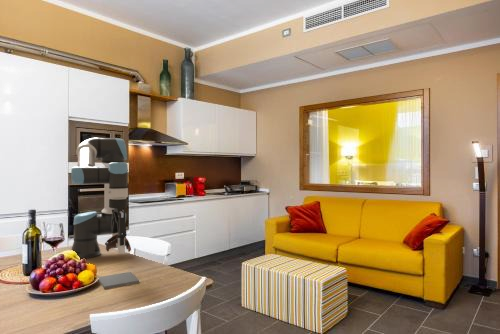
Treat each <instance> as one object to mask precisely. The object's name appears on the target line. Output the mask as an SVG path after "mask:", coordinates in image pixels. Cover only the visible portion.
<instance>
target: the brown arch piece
mask: <svg viewBox="0 0 500 334" xmlns="http://www.w3.org/2000/svg"><path fill="white" fill-rule="evenodd" d="M117 236H118V234H117V235H115V236H113V237H112V236H111V237H110V238H109V239H107V240H106V242H105V243H104V245H105V251H107V252H109V251H110V250H111V249H112V248H113V249H117V248H116V243H118V238H117ZM113 240H114V241H113ZM125 250H127V251H128V252H131V251H132V248H131V244H130V242H129V239H128V238H127V236H126V237H125Z"/></svg>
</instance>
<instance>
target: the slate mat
mask: <svg viewBox="0 0 500 334" xmlns="http://www.w3.org/2000/svg"><path fill="white" fill-rule="evenodd" d="M98 278H99V281H98V282H99V284H100V285H101V286H102V288H103V289H104V290H107V289H113V288H118V287H123V286H128V285H134V284H139V283H140V282H141V281H140V279H139V278H138V277H137V276H136V275H135V274H134V273H133V272H132V271H127V272H121V273H115V274H107V275H103V276H97V279H98Z"/></svg>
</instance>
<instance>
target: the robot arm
mask: <svg viewBox="0 0 500 334" xmlns="http://www.w3.org/2000/svg"><path fill="white" fill-rule="evenodd" d="M76 147H77V148H76V150H75V153H76V154H75V155H76V157H77V166H73V167H71V172H70V173H71V174H70V176H71V179H70V180H71V183H72V184H75V185H88V184H89V185H95V184H99V185H100V184H101V185H104V197H103V198H104V203H103V204H104V207H103V208H102V210H101V211H100V212H101V213H98V212H97V211H87V212H83V213H82V212H81V213H78V214H76V215H75V216H74V217H73V223H72V224H73V243H72V245H71V249H70V251H71V250H73V251H75V252H76V253H77V255H78V256H79V257H80V258H81V259H90V258H94V257H98V256H99V255H101V248H100V245H99V242H98V236H103V235H104V236H105V235H111V237H113V236H115V235H117V234H118V236H117V238H118V243H116V248H115V249H117V255H119V254H124V253H125V254H126V246H125V237H126V238H127V224H126V223H127V213H126V212H125V211H124V208H127V207H128V206H129V205H128V201H129V200H128V197H129V188H128V187H129V186H128V185H129V184H128V181H129V179H128V176H129V175H128V172H129V167H128V163H127V162H125V161H126V160H128V152H127V146H126V142H125V139H123V138H118V137H117V138H116V137H91V138H88V139H85V140H84V141H82V142H81V143H79V144H78V146H76ZM96 160H101V164H102V165H103V166H96ZM113 241H114V240H113ZM111 249H114V248H111Z"/></svg>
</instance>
